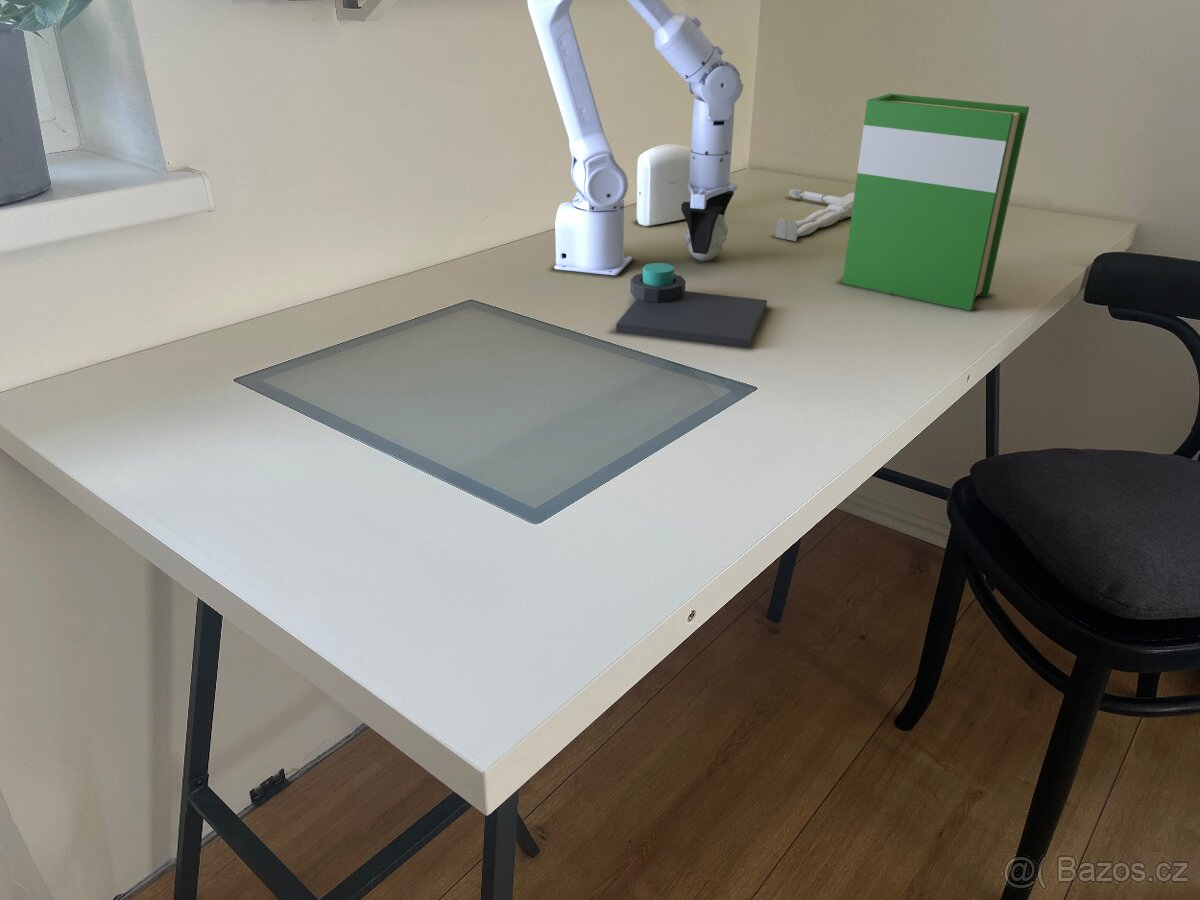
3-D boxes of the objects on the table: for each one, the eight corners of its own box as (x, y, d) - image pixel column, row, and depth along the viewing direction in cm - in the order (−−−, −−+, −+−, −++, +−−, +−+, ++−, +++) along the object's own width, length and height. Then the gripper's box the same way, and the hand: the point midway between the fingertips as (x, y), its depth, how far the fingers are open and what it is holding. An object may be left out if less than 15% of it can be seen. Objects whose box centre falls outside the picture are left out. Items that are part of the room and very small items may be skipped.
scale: (604, 331, 112) (604, 307, 111) (639, 291, 125) (639, 269, 124) (747, 348, 107) (749, 324, 106) (768, 305, 120) (770, 283, 119)
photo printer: (647, 228, 152) (649, 150, 146) (632, 222, 155) (633, 146, 149) (696, 219, 157) (700, 144, 151) (680, 213, 160) (684, 139, 154)
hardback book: (988, 295, 124) (1029, 106, 112) (970, 310, 119) (1011, 114, 107) (863, 270, 133) (889, 93, 122) (842, 283, 128) (867, 100, 116)
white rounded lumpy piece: (735, 259, 138) (738, 212, 134) (705, 269, 133) (708, 221, 130) (703, 250, 141) (706, 204, 138) (673, 260, 137) (675, 213, 134)
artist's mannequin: (715, 205, 153) (809, 170, 172) (714, 227, 155) (807, 190, 174) (866, 236, 137) (950, 194, 156) (863, 261, 139) (947, 216, 158)
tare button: (639, 286, 119) (639, 270, 118) (647, 276, 122) (647, 261, 121) (669, 289, 118) (669, 273, 117) (676, 279, 121) (677, 264, 120)
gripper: (729, 163, 123) (722, 263, 129) (748, 143, 135) (741, 235, 141) (677, 160, 125) (673, 258, 131) (700, 140, 137) (695, 231, 143)
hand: (705, 246), depth 136 cm, fingers closed on white rounded lumpy piece, 6 cm apart
